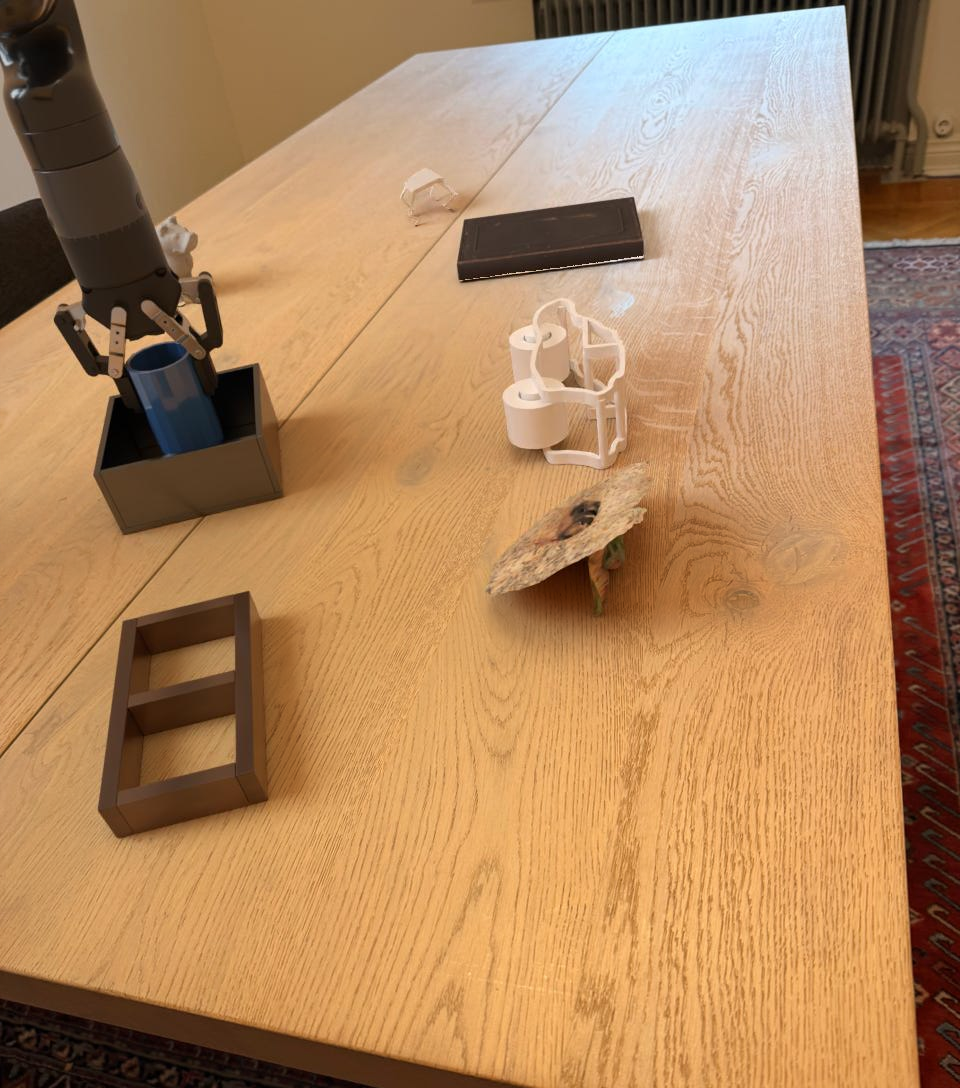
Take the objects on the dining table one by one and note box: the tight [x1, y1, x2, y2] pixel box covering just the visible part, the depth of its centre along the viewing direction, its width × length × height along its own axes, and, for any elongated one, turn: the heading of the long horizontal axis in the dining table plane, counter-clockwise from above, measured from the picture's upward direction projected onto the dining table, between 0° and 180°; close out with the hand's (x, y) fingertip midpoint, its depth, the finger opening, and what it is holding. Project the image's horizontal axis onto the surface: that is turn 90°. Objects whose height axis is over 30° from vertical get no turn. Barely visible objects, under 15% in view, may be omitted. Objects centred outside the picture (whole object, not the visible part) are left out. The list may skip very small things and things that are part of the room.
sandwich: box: [485, 460, 655, 617], centre depth 71 cm, size 18×14×8 cm
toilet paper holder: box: [502, 297, 628, 470], centre depth 88 cm, size 20×11×7 cm, turn 176°
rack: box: [97, 590, 269, 839], centre depth 67 cm, size 10×19×3 cm, turn 12°
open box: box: [92, 362, 284, 536], centre depth 91 cm, size 15×15×7 cm
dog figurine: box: [155, 214, 199, 304], centre depth 125 cm, size 5×13×11 cm, turn 70°
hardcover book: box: [456, 196, 645, 281], centre depth 121 cm, size 16×23×2 cm
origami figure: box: [399, 166, 459, 223], centre depth 138 cm, size 12×8×5 cm
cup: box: [125, 340, 223, 455], centre depth 87 cm, size 6×6×9 cm
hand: (175, 400), depth 87 cm, fingers closed on cup, 6 cm apart
